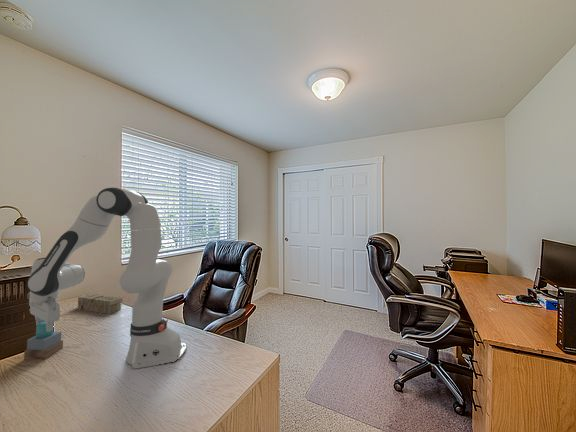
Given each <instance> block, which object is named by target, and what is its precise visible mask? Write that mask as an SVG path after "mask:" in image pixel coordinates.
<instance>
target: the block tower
mask: <svg viewBox="0 0 576 432" xmlns="http://www.w3.org/2000/svg"><path fill="white" fill-rule="evenodd" d="M123 299H124V297H120V296H112V295H111V296H110V295H106V296H104V295H103V294H96V293H91V292H90V293H85V294H81V295H80V296H78V297H77V309H78V310H84V311H90V312H95V313H101V314H106V315H107V314H108V315H109V314H112V313H115V312H118V311H120V310H121V309H122V303H123V301H124V300H123Z"/></svg>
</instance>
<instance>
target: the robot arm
mask: <svg viewBox="0 0 576 432" xmlns="http://www.w3.org/2000/svg"><path fill="white" fill-rule="evenodd" d="M97 193H98V194H96V195H94V196H92V197H90V198H89V199H88V200H87V202H86V203H85V204H84V206H83V207H82V209H81V210H80V212H79V214H78V216H77V217H76V219H75V221H74V222H73V224H72V225H71V226H70V227H69V229H67V231H65V232H64V233H63V234H62V235H60V237H59V238H58V239H57V240H56V242H55V243H54V245H53V246H52V248H51V249H50V250H49V252H48V253H47V255H46V257H41V258H37V259H35V260H34V261H33V263H32V266H31V270H30V275H29V277H28V279H27V281H26V287H27V289H28V290H29V292H28V293H27V299H28V307H29V306H30V309H29V312H30V315H31V316H34V318H35V324H36V327H37V324H39V323H41V322H46V327H45V331H47V332H48V331H51V330H52V326H53V327H54V323H55V322H57V321H59V320H60V318H61V308H60V307H61V305H60V302H59V301H57V299H59V298H60V297H61V291H62V290H65V289H68V288H72V287H75V286H77V285H79V284H81V283H82V282H83V281H84V279H85V275H86V274H85V273H86V272H85V270H84V268H83V266H81V265H80V264H77V263H72V262H68V260H69V258H70V256H72V255H73V253H74V252H75V251H77V250H78V249H80V248H82V247H83V246H86V245H88V244H91V243H94V242H96V241H99V240H100V239H101V238H102V237H103V236H104V235H105V234H106V233H107V231H108V230H109V228H110V225H111V223H112V222H113V221H112V220H113V219H114V217H115V216H118V217H123V216H125V217H126V218H128V220H129V223H130V224H129V227H130V254H129V258H128V262H127V265H126V267H125V270H124V271H123V272H122V273H121V274H120V277H119V286H120V288H121V289H122V291H124V292H125V293H127V294H131V295H132V294H133V295H134V294H137V296H136V298H135V300H134V301H133V303H132V310H131V312H132V314H131V315H132V316H131V323H130V328H129V331H130V332H129V336H130V341H129V347H128V348H129V349H128V352H127V355H126V358H125V362H126V363H127V364H129V365H131V368H132V369H141V368H149V367H154V366H160V365H159V364H161V365H165V364H164V363H168V364H170V363H169V362H173V361H176V360H177V359H179V358H180V357H181V356H182V355H183V353H184V352H186V351H187V344H186V343H185V342H182V339H181V336H180V334H179V333H178V332H176V331H174V330H173V329H172V328H170V327H168V322H169V319H166V320H165V319H164V317H163V311H164V310H163V308H164V297H165V293H166V289H167V287H168V286H167V285H168V282H169V280H170V277H171V276H172V273H173V266H172V264H171V262H170V261H167V260H165V259H158V255H159V252H160V250H161V249H162V245H163V243H162V231H161V230H162V229H161V220H160V214H159V212H158V209H157V207H156V206H155V205H153V204H150V203H149V201H148V198H147V197H146V195H144V194H142V193H140V192H137V191H133V190H130V189H126V188H119V187H105V188H103V189H102V190H100V191H99V192H97ZM183 346H184V347H183ZM185 350H186V351H185ZM184 354H185V353H184ZM183 356H184V355H183ZM183 356H182V357H183ZM182 357H181V358H182ZM181 358H180V359H181ZM180 359H179V360H180ZM177 361H178V360H177ZM177 361H176V362H177Z"/></svg>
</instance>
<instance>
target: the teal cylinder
mask: <svg viewBox="0 0 576 432" xmlns="http://www.w3.org/2000/svg"><path fill="white" fill-rule="evenodd" d="M45 327H46V322H45V321H43V322H41V323H39V324H37V326H36V328H35V336H36V338H45V337H48V336H51V335H52V334H53V332H54V325H53V326H52V330H51V331H48V332H47V331H45Z"/></svg>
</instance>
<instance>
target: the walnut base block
mask: <svg viewBox="0 0 576 432" xmlns="http://www.w3.org/2000/svg"><path fill="white" fill-rule="evenodd" d="M63 349H64V340H63V339H61V341H60V342H58V343H57V344H55V345H53V346H51V347H49V348H47V349H45V350H27V349H25V350H24V354H23V360H24V361H33V360H35V361H36V360H47V359H49V358H51V357H52V356H54V355H55V354H56V353H58V352H60V351H61V350H63Z"/></svg>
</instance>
